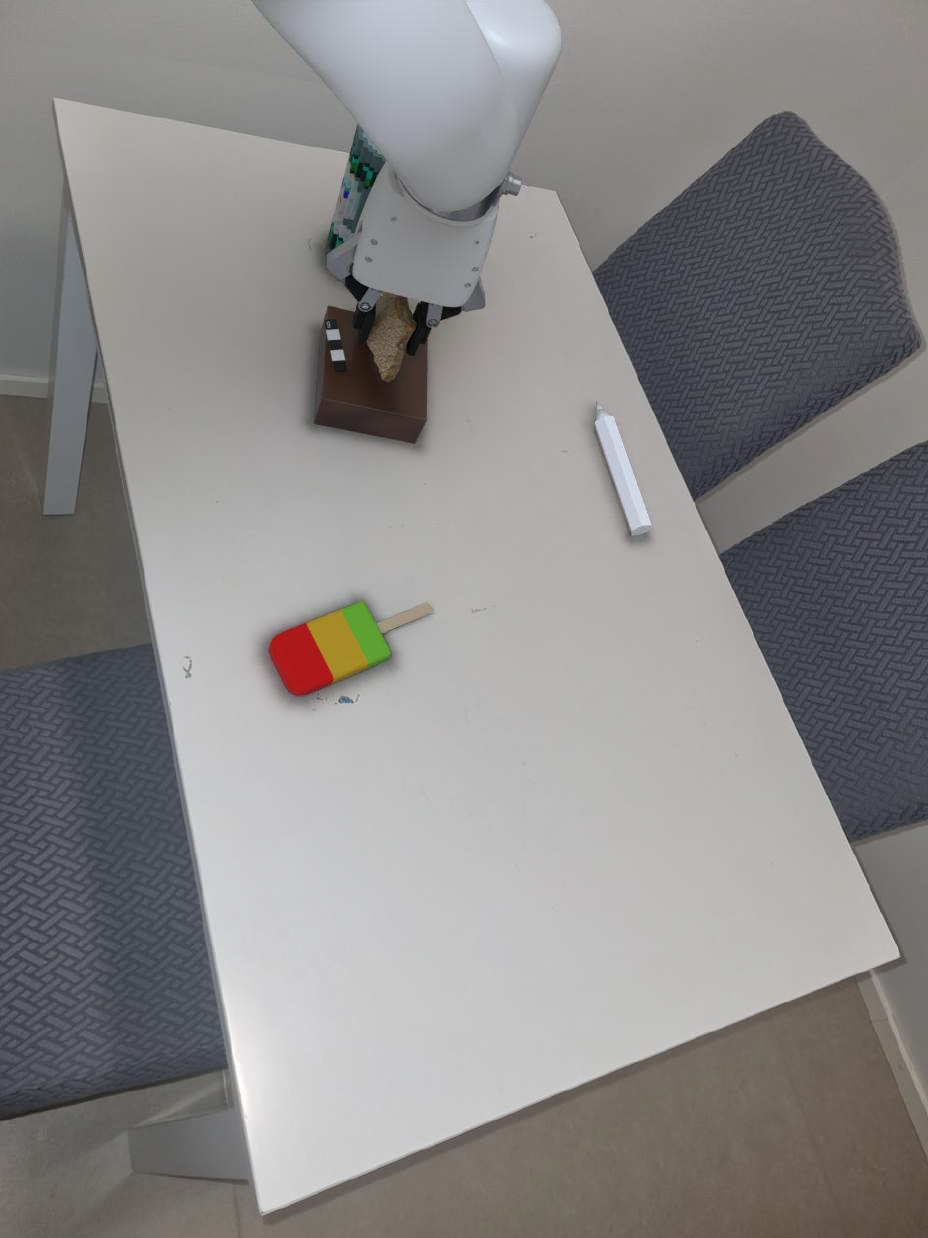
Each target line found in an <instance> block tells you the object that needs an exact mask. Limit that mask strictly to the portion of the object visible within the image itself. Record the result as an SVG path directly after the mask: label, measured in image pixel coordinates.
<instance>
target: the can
mask: <svg viewBox="0 0 928 1238" xmlns="http://www.w3.org/2000/svg"><path fill="white" fill-rule="evenodd" d="M385 162H386V159H385V158H384V157H383V155H382V154H381V153H380V151H379V150H378V149H377V148H376V146H375V145H374V144H373V142H372V141H371V140H370V139H369V137H368V136H367V135H366V133H365V132H364V131H363V130H362V128H361V127H360V126H359V125H358V124H357V123H356V128H355V131H354V134H353V139H352V143H351V147H350V151H349V154H348V157H347V162H346V166H345V170H344V173H343V177H342V181H341V185H340V189H339V192H338V197H337V201H336V204H335V208H334V212H333V216H332V219H331V220H332V221H331V223H330V226H329V227H330V229H329V231H328V235H327V239H326V243H325V247H324V257H325V264H326V263H327V254H328V253H329V252H331V251H332V250H334V249H335V248H336V247H338V246H339V245H341V244H342V243H344V242H345V241H347V240H348V239H350V238H351V237H353V236H354V235H355V231H356V227H357V224H358V221H359V219H360V216H361V213H362V211H363V208H364V206H365V203H366V201H367V198H368V196H369V193H370V191H371V189H372V187H373V185H374V182H375V180H376V178H377V176H378V174H379V172H380V171H381V169H382V167H383V166H384V164H385ZM352 265H353V263H352Z"/></svg>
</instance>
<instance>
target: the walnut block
mask: <svg viewBox="0 0 928 1238" xmlns="http://www.w3.org/2000/svg"><path fill="white" fill-rule="evenodd" d="M354 312H355V310H353V311H352V310H349V309H345V308H341V307H338V306H333V305H330V304H329V305H327V308H326V311H325V315H324V318H323V321H322V325H321V329H320V331H319V344H318V358H317V370H316V383H315V384H316V386H315V399H314V414H313V424H314V425H317V426H322V427H323V426H324V427H329V428H334V429H338V430H344V431H347V432H348V431H349V432H354V433H358V434H364V435H370V436H375V437H378V438H379V437H380V438H383V439H390V440H395V441H400V442H405V443H409V444H416V443H417V441H418V439H419V437H420V435H421V433H422V431H423V429H424V427H425V425H426V423H427V421H428V366H429V365H428V363H429V362H428V355H429V351H428V349H429V347H428V346H429V337H428V338H427V341H426V343H425V344H420V345H419V347H418V349H417V351H416V354H415V356H410V355H408V353H407V345H406V348H405V353H404V355H403V359H402V363H401V366H400V370H399V371H398V373H397V374H396V376H395V379H394V380H393V381H391V382H389V383H387V382H386V381H383V379H382V378H381V374H380V372H379V368H378V366H377V364H376V363H375V362H374V354H373V353H372V351H371V349H370V348H369V346H368V345H367V343H366V344H364V345H362V344H358V329H355V328H352V323H353V315H354ZM330 319H336V320H337V325H338V329H339V334H340V339H341V343H342V348H343V352H344V357H345V362H346V366H347V371H344V372H335V371H334V366H333V361H332V357H331V352H330V347H329V342H328V338H327V333H326V328H325V323H324V320H330Z"/></svg>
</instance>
